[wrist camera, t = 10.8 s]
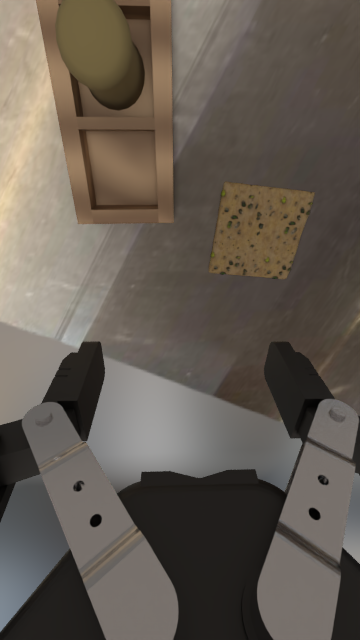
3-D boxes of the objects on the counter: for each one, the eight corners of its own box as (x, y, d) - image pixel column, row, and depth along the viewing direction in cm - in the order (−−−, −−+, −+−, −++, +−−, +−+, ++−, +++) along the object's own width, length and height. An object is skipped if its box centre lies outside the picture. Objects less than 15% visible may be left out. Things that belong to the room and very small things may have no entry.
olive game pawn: (86, 18, 25) (43, -56, 16) (151, 44, 27) (145, -10, 17) (79, 98, 28) (39, 75, 19) (138, 119, 30) (127, 107, 20)
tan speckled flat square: (315, 190, 35) (319, 191, 34) (285, 278, 42) (288, 281, 41) (222, 179, 34) (224, 180, 33) (207, 272, 40) (207, 274, 39)
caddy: (46, -4, 25) (31, -25, 22) (169, -2, 25) (170, -21, 22) (85, 217, 35) (78, 224, 32) (172, 216, 36) (173, 222, 33)
